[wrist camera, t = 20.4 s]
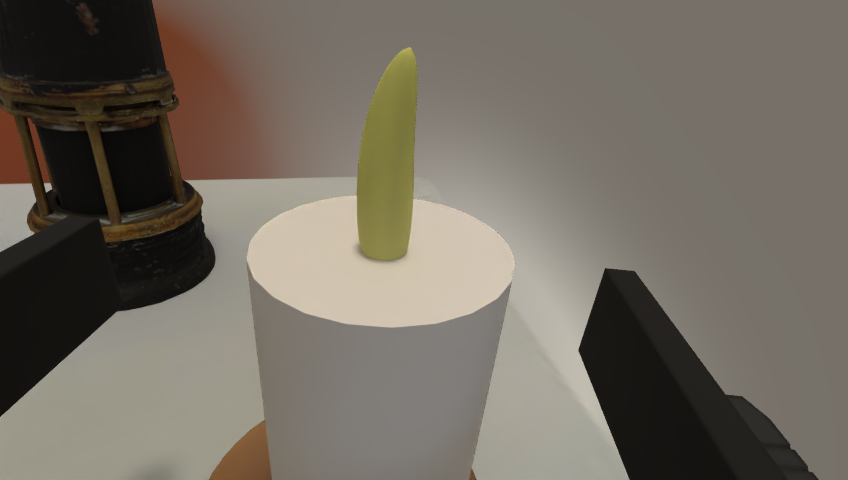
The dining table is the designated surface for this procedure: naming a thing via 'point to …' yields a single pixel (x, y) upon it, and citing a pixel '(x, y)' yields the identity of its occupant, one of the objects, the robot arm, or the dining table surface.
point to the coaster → (251, 458)
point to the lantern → (105, 136)
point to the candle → (377, 317)
